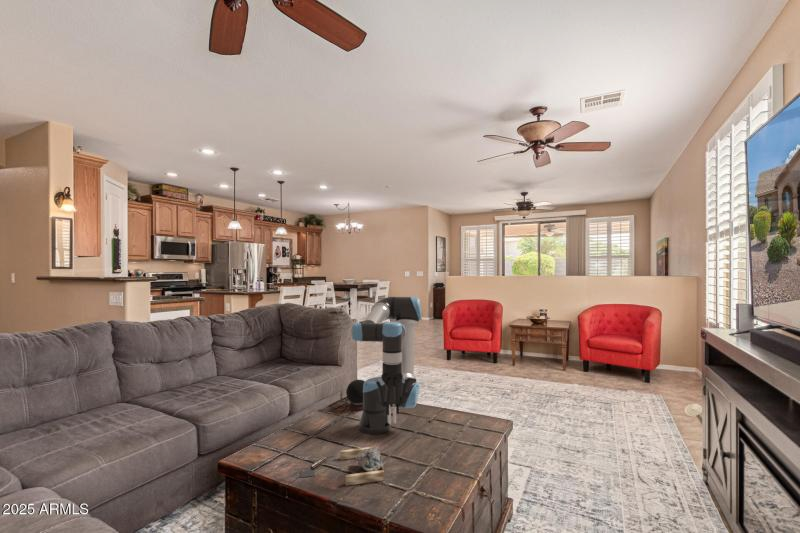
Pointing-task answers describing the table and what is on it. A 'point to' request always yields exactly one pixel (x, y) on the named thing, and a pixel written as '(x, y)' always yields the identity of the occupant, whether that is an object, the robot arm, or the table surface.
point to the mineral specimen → (370, 459)
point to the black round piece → (355, 395)
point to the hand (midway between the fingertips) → (391, 422)
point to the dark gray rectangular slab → (307, 473)
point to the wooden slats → (360, 477)
